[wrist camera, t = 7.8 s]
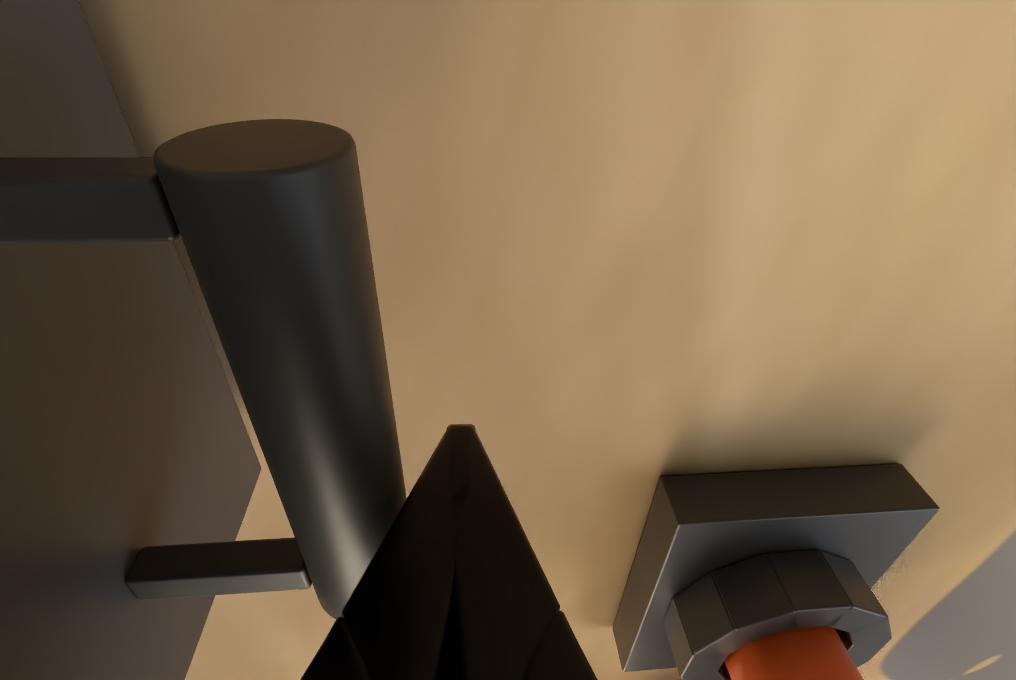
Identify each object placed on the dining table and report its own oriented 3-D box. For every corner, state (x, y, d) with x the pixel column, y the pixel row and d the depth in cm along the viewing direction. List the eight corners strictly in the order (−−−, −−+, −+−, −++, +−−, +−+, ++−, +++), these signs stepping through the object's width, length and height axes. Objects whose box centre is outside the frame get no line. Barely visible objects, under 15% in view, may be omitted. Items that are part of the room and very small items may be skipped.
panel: (791, 614, 23) (839, 707, 20) (612, 628, 22) (635, 726, 19) (901, 463, 17) (991, 565, 14) (659, 475, 16) (703, 586, 13)
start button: (810, 665, 18) (840, 725, 17) (711, 673, 18) (733, 735, 16) (854, 615, 16) (892, 678, 15) (742, 624, 16) (770, 690, 14)
